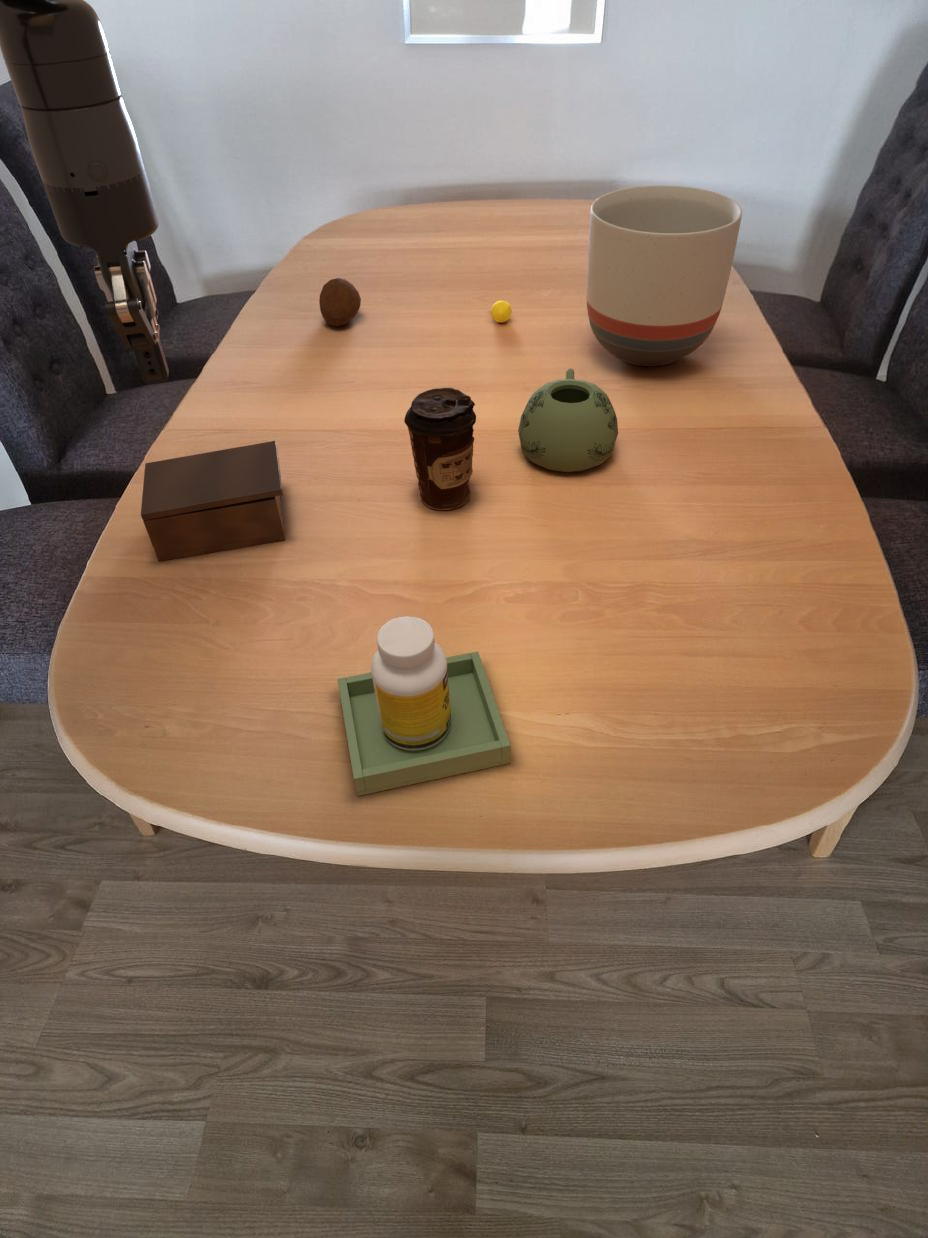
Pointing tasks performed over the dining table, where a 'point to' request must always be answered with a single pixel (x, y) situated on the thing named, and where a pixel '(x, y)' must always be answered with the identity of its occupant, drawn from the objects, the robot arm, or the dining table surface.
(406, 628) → the pill bottle
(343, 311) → the potato
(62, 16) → the robot arm
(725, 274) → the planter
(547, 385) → the green ceramic domed vessel
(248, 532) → the brown wooden box
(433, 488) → the coffee cup
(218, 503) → the lid
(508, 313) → the yellow rounded lump
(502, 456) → the dining table surface
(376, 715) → the tray
